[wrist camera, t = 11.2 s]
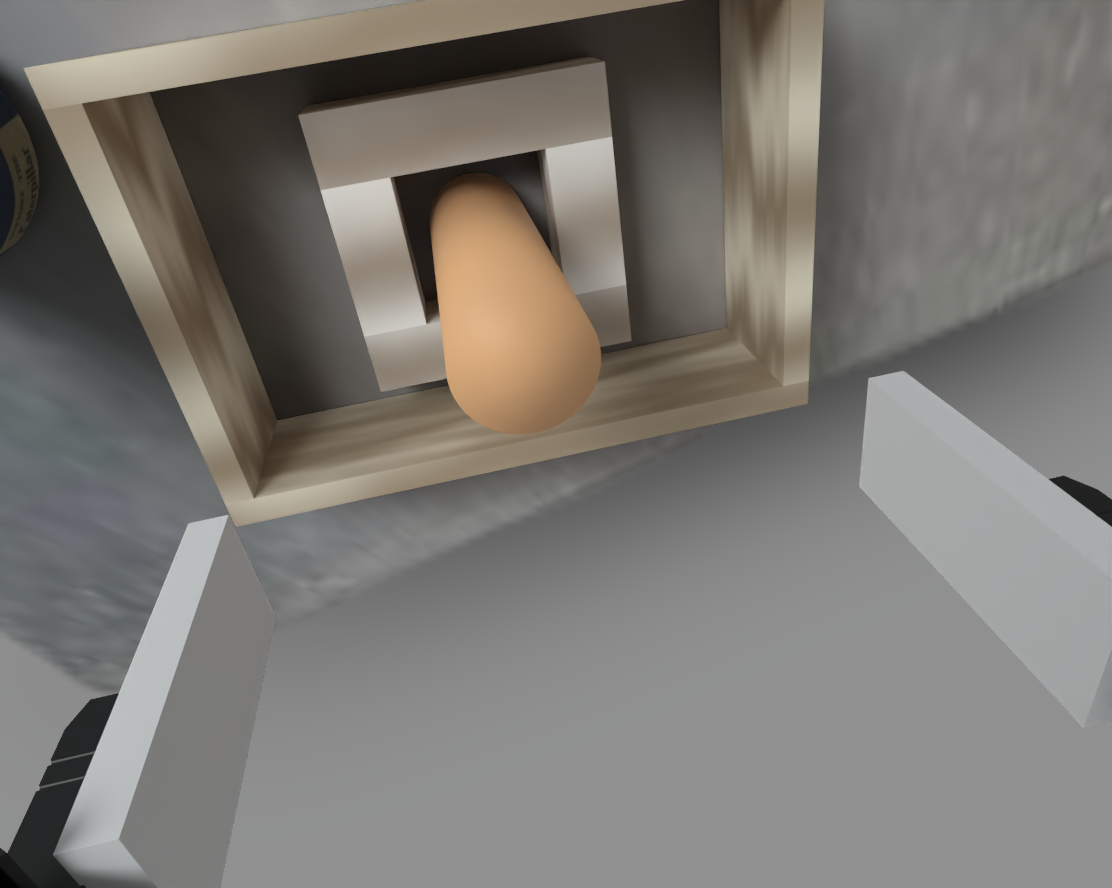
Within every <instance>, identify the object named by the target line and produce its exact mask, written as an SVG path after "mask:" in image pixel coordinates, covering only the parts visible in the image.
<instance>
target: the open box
mask: <svg viewBox="0 0 1112 888" xmlns="http://www.w3.org/2000/svg"><path fill="white" fill-rule="evenodd" d="M677 1H683V0H421V1H415V2H409V3H403V4H397V5H391V6H385V7H379V8H373V9H367V10H361V11H355V12H349V13H343V14H337V15H331V16H325V17H319V18H313V19H307V20H301V21H295V22H289V23H283V24H277V25H271V26H265V27H259V28H253V29H247V30H241V31H235V32H229V33H223V34H217V35H211V36H205V37H199V38H193V39H187V40H181V41H175V42H169V43H163V44H157V45H151V46H145V47H139V48H133V49H127V50H121V51H115V52H109V53H103V54H98V55H92V56H87V57H81V58H76V59H71V60H65V61H60V62H54V63H49V64H43V65H38V66H33V67H27V68H23V69H24V71H25V73H26V75H27V77H28V79H29V82H30V84H31V86H32V88H33V90H34V92H35V95H36V97H37V99H38V101H39V103H40V105H41V108H42V110H43V112H44V114H45V116H46V118H47V120H48V123H49V125H50V127H51V129H52V131H53V133H54V136H55V138H56V140H57V142H58V144H59V146H60V149H61V151H62V153H63V155H64V157H65V159H66V161H67V164H68V166H69V168H70V170H71V172H72V174H73V177H74V179H75V181H76V183H77V185H78V187H79V190H80V192H81V194H82V196H83V198H84V200H85V202H86V205H87V207H88V209H89V211H90V213H91V215H92V218H93V220H94V222H95V224H96V226H97V228H98V231H99V233H100V235H101V237H102V239H103V241H104V243H105V246H106V248H107V250H108V252H109V254H110V256H111V259H112V261H113V263H114V265H115V267H116V269H117V272H118V274H119V276H120V278H121V280H122V282H123V284H124V287H125V289H126V291H127V293H128V295H129V297H130V300H131V302H132V304H133V306H134V308H135V310H136V313H137V315H138V317H139V319H140V321H141V323H142V325H143V328H144V330H145V332H146V334H147V336H148V338H149V341H150V343H151V345H152V347H153V349H154V351H155V354H156V356H157V358H158V360H159V362H160V364H161V366H162V369H163V371H164V373H165V375H166V377H167V379H168V382H169V384H170V386H171V388H172V390H173V392H174V395H175V397H176V399H177V401H178V403H179V405H180V407H181V410H182V412H183V414H184V416H185V418H186V420H187V423H188V425H189V427H190V429H191V431H192V433H193V436H194V438H195V440H196V442H197V444H198V446H199V448H200V451H201V453H202V455H203V457H204V459H205V461H206V464H207V466H208V468H209V470H210V472H211V474H212V477H213V479H214V481H215V483H216V485H217V487H218V489H219V492H220V494H221V496H222V498H223V500H224V502H225V505H226V507H227V509H228V511H229V513H230V515H231V518H232V520H233V522H234V524H235V526H236V527H237V526H242V525H247V524H251V523H256V522H260V521H265V520H270V519H274V518H279V517H284V516H288V515H293V514H298V513H302V512H307V511H312V510H316V509H321V508H326V507H330V506H335V505H340V504H344V503H349V502H354V501H358V500H363V499H368V498H372V497H377V496H382V495H386V494H391V493H396V492H400V491H405V490H410V489H414V488H419V487H424V486H428V485H433V484H438V483H442V482H447V481H452V480H456V479H461V478H465V477H470V476H475V475H479V474H484V473H489V472H493V471H498V470H503V469H507V468H512V467H517V466H521V465H526V464H531V463H535V462H540V461H545V460H549V459H554V458H559V457H563V456H568V455H573V454H577V453H582V452H587V451H591V450H596V449H601V448H605V447H610V446H615V445H619V444H624V443H629V442H633V441H638V440H643V439H647V438H652V437H657V436H661V435H666V434H670V433H675V432H680V431H684V430H689V429H694V428H698V427H703V426H708V425H712V424H717V423H722V422H726V421H731V420H736V419H740V418H745V417H750V416H754V415H759V414H764V413H768V412H773V411H778V410H782V409H787V408H792V407H796V406H801V405H805V404H808V389H809V364H810V340H811V315H812V291H813V266H814V242H815V217H816V193H817V168H818V144H819V119H820V95H821V70H822V46H823V21H824V0H719V13H720V57H721V101H722V144H723V188H724V232H725V276H726V320H727V328H725V329H720V330H715V331H711V332H706V333H701V334H696V335H691V336H686V337H681V338H676V339H672V340H667V341H662V342H657V343H652V344H647V345H642V346H638V347H633V348H628V349H623V350H618V351H613V352H608V353H603V354H601V368H600V373H599V377H598V380H597V383H596V386H595V388H594V390H593V392H592V393H591V395H590V397H589V398H588V400H587V401H586V402H585V404H584V405H583V406H582V407H581V408H580V409H579V410H578V411H577V412H576V413H575V414H574V415H572V416H571V417H570V418H568V419H567V420H565V421H564V422H562V423H560V424H558V425H557V426H555V427H552V428H550V429H547V430H544V431H540V432H536V433H529V434H509V433H503V432H498V431H495V430H492V429H489V428H487V427H485V426H483V425H481V424H479V423H478V422H476V421H475V420H473V419H472V418H471V417H470V416H468V415H467V414H466V413H465V412H464V411H463V410H462V409H461V407H460V406H459V405H458V403H457V402H456V400H455V399H454V397H453V395H452V393H451V391H450V387H449V385H447V386H443V387H438V388H433V389H428V390H423V391H418V392H413V393H408V394H404V395H399V396H394V397H389V398H384V399H379V400H374V401H370V402H365V403H360V404H355V405H350V406H345V407H340V408H335V409H331V410H326V411H321V412H316V413H311V414H306V415H301V416H296V417H292V418H287V419H282V420H277V418H276V415H275V413H274V410H273V408H272V405H271V403H270V400H269V397H268V395H267V392H266V390H265V387H264V385H263V382H262V379H261V377H260V374H259V372H258V369H257V367H256V364H255V361H254V359H253V356H252V354H251V351H250V349H249V346H248V343H247V341H246V338H245V336H244V333H243V331H242V328H241V325H240V323H239V320H238V318H237V315H236V313H235V310H234V308H233V305H232V302H231V300H230V297H229V295H228V292H227V290H226V287H225V284H224V282H223V279H222V277H221V274H220V272H219V269H218V266H217V264H216V261H215V259H214V256H213V254H212V251H211V248H210V246H209V243H208V241H207V238H206V236H205V233H204V230H203V228H202V225H201V223H200V220H199V218H198V215H197V213H196V210H195V207H194V205H193V202H192V200H191V197H190V195H189V192H188V189H187V187H186V184H185V182H184V179H183V177H182V174H181V171H180V169H179V166H178V164H177V161H176V159H175V156H174V153H173V151H172V148H171V146H170V143H169V141H168V138H167V135H166V133H165V130H164V128H163V125H162V123H161V120H160V118H159V115H158V112H157V110H156V107H155V105H154V102H153V100H152V97H151V94H150V92H151V91H157V90H163V89H169V88H175V87H181V86H186V85H192V84H198V83H204V82H210V81H216V80H221V79H227V78H233V77H239V76H245V75H251V74H256V73H262V72H268V71H274V70H280V69H286V68H291V67H297V66H303V65H309V64H315V63H321V62H327V61H332V60H338V59H344V58H350V57H356V56H362V55H367V54H373V53H379V52H385V51H391V50H397V49H402V48H408V47H414V46H420V45H426V44H432V43H437V42H443V41H449V40H455V39H461V38H467V37H472V36H478V35H484V34H490V33H496V32H502V31H507V30H513V29H519V28H525V27H531V26H537V25H542V24H548V23H554V22H560V21H566V20H572V19H577V18H583V17H589V16H595V15H601V14H607V13H613V12H618V11H624V10H630V9H636V8H642V7H648V6H653V5H659V4H665V3H671V2H677ZM298 117H299V120H300V123H301V127H302V130H303V133H304V137H305V140H306V143H307V147H308V150H309V153H310V157H311V160H312V163H313V167H314V170H315V173H316V177H317V180H318V184H319V187H320V190H321V194H322V197H323V200H324V204H325V207H326V210H327V214H328V217H329V220H330V224H331V227H332V230H333V234H334V237H335V240H336V244H337V247H338V250H339V254H340V257H341V261H342V264H343V267H344V271H345V274H346V277H347V281H348V284H349V287H350V291H351V294H352V297H353V301H354V304H355V307H356V311H357V314H358V317H359V321H360V324H361V327H362V331H363V334H364V338H365V341H366V344H367V348H368V351H369V354H370V358H371V361H372V364H373V368H374V371H375V374H376V378H377V381H378V384H379V388H380V391H381V392H384V391H389V390H394V389H398V388H403V387H408V386H413V385H418V384H423V383H428V382H433V381H438V380H442V379H447V375H446V367H445V358H444V349H443V340H442V331H441V322H440V313H439V304H438V299H435V300H430V301H425V299H424V295H423V291H422V287H421V283H420V279H419V275H418V271H417V267H416V263H415V258H414V254H413V250H412V246H411V242H410V238H409V234H408V230H407V226H406V222H405V218H404V214H403V210H402V206H401V202H400V197H399V193H398V189H397V185H396V181H395V176H401V175H406V174H412V173H417V172H422V171H428V170H433V169H439V168H444V167H450V166H455V165H461V164H466V163H471V162H477V161H482V160H488V159H493V158H499V157H504V156H510V155H515V154H520V153H526V152H531V151H537V156H538V163H539V169H540V176H541V183H542V190H543V197H544V204H545V210H546V217H547V224H548V231H549V238H550V244H551V251H552V256H553V258H554V259H555V261H556V263H557V265H558V266H559V268H560V270H561V272H562V273H563V275H564V277H565V279H566V280H567V282H568V284H569V285H570V287H571V289H572V291H573V292H574V294H575V296H576V298H577V299H578V301H579V303H580V305H581V306H582V308H583V310H584V312H585V313H586V315H587V317H588V319H589V320H590V322H591V324H592V326H593V328H594V330H595V332H596V334H597V337H598V340H599V343H600V347H604V346H609V345H614V344H619V343H623V342H628V341H632V339H631V329H630V318H629V308H628V297H627V287H626V276H625V266H624V255H623V245H622V235H621V224H620V214H619V203H618V193H617V182H616V172H615V161H614V151H613V140H612V130H611V119H610V109H609V99H608V88H607V78H606V67H605V61H603V60H599V59H596V58H593V57H590V56H587V57H582V58H576V59H570V60H565V61H559V62H553V63H547V64H542V65H536V66H530V67H525V68H519V69H513V70H508V71H502V72H496V73H490V74H485V75H479V76H473V77H468V78H462V79H456V80H451V81H445V82H439V83H433V84H428V85H422V86H416V87H411V88H405V89H399V90H393V91H388V92H382V93H376V94H371V95H365V96H359V97H354V98H348V99H342V100H336V101H331V102H325V103H319V104H314V105H308V106H306V107H305V108H304V109H303V110H302V112H301V113H300V114H299V115H298Z"/></svg>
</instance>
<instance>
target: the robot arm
mask: <svg viewBox="0 0 1112 888" xmlns="http://www.w3.org/2000/svg"><path fill="white" fill-rule="evenodd" d="M866 403H867V404H866V415H865V425H864V437H863V448H862V459H861V470H860V481H859V487H860V488H861V489H862V490H863V491H864V492H865V493H866V494H867V495H868V497H869V498H870V499H871V500H872V501H873V502H874V503H875V504H876V505H877V506H878V507H879V508H880V509H881V511H882V512H883V513H884V514H885V515H886V516H887V517H888V518H889V519H890V520H891V521H892V522H893V523H894V524H895V526H896V527H897V528H898V529H899V530H900V531H901V532H902V533H903V534H904V535H905V536H906V537H907V539H908V540H909V541H910V542H911V543H912V544H913V545H914V546H915V547H916V548H917V549H918V550H919V551H920V553H921V554H922V555H923V556H924V557H925V558H926V559H927V560H928V561H929V562H930V563H931V564H932V565H933V567H935V569H936V570H937V571H938V572H939V573H940V574H941V575H942V576H943V577H944V578H945V579H946V581H948V583H949V584H950V585H951V586H952V587H953V588H954V589H955V590H956V591H957V592H958V593H959V595H961V596H962V598H963V599H964V600H965V601H966V602H967V603H968V604H969V605H970V606H971V607H972V609H973V610H974V611H975V612H976V613H977V614H978V615H979V616H980V617H981V618H982V619H983V620H984V621H985V623H986V624H987V625H988V626H989V627H990V628H991V629H992V630H993V631H994V632H995V633H996V634H997V635H998V637H999V638H1000V639H1001V640H1003V642H1004V643H1005V644H1006V645H1007V646H1008V647H1009V648H1010V649H1011V650H1012V652H1013V653H1014V654H1015V655H1016V656H1017V657H1018V658H1019V659H1020V660H1021V661H1022V662H1023V663H1024V664H1025V665H1026V667H1027V668H1028V669H1029V670H1030V671H1031V672H1032V673H1033V674H1034V675H1035V676H1036V677H1037V678H1038V680H1039V681H1040V682H1041V683H1042V684H1043V685H1044V686H1045V687H1046V688H1047V689H1048V690H1049V691H1050V692H1051V694H1052V695H1054V697H1055V698H1056V699H1057V700H1058V701H1059V702H1060V703H1061V704H1062V705H1063V706H1064V707H1065V708H1066V710H1068V712H1069V713H1070V714H1071V715H1072V716H1073V717H1074V718H1075V719H1076V720H1077V722H1078V723H1079V724H1080V725H1081V726H1082V727H1083V728H1086V727H1089V726H1094V725H1097V724H1101V723H1105V722H1109V721H1112V499H1110V498H1109V497H1107V496H1106V495H1104V494H1103V493H1102V492H1100V491H1099V490H1097V489H1095V488H1093V487H1090V486H1088V485H1085V484H1083V483H1080V482H1078V481H1075V480H1073V479H1070V478H1068V477H1066V476H1061V477H1056V478H1052V479H1047V478H1046V477H1045V476H1043V475H1042V474H1040V473H1039V472H1038V471H1036V470H1035V469H1034V468H1033V467H1031V466H1030V465H1028V464H1027V463H1026V462H1025V461H1023V460H1022V459H1020V458H1019V457H1018V456H1016V455H1015V454H1014V453H1012V452H1011V451H1010V450H1008V449H1007V448H1006V447H1004V446H1003V445H1002V444H1000V443H999V442H998V441H996V440H995V439H994V438H992V437H991V436H990V435H988V434H987V433H986V432H984V431H983V430H982V429H980V428H979V427H978V426H976V425H975V424H974V423H972V422H971V421H970V420H968V419H967V418H966V417H964V416H963V415H962V414H960V413H959V412H958V411H956V410H955V409H954V408H952V407H951V406H950V405H948V404H947V403H946V402H944V401H943V400H942V399H940V398H939V397H938V396H936V395H935V394H934V393H932V392H931V391H930V390H928V389H927V388H926V387H924V386H923V385H922V384H920V383H919V382H918V381H916V380H915V379H914V378H912V377H911V376H910V375H908V374H907V373H906V372H904V371H900V372H896V373H891V374H886V375H882V376H877V377H872V378H869V380H868V392H867V402H866ZM275 620H276V616H275V614H274V612H273V609H272V607H271V605H270V603H269V601H268V599H267V597H266V594H265V592H264V590H263V588H262V586H261V584H260V582H259V579H258V577H257V575H256V573H255V571H254V569H253V567H252V564H251V562H250V560H249V558H248V556H247V554H246V552H245V549H244V547H243V545H242V543H241V541H240V539H239V537H238V534H237V532H236V530H235V528H234V526H233V524H232V522H231V519H230V517H229V515H226V516H221V517H217V518H212V519H207V520H203V521H198V522H193V523H189V524H188V526H187V528H186V531H185V533H184V536H183V538H182V541H181V543H180V546H179V548H178V550H177V553H176V555H175V558H174V560H173V563H172V565H171V568H170V570H169V572H168V575H167V577H166V580H165V582H164V585H163V587H162V590H161V592H160V594H159V597H158V599H157V602H156V604H155V607H154V609H153V612H152V614H151V616H150V619H149V621H148V624H147V626H146V629H145V631H144V634H143V636H142V638H141V641H140V643H139V646H138V648H137V651H136V653H135V656H134V658H133V660H132V663H131V665H130V668H129V670H128V673H127V675H126V678H125V680H124V682H123V685H122V687H121V690H120V692H119V693H118V694H113V695H109V696H104V697H100V698H96V699H91V700H90V701H89V702H88V703H87V704H86V705H85V707H84V708H83V709H82V710H81V711H80V712H79V714H78V715H77V716H76V717H75V718H74V719H73V721H72V722H71V723H70V724H69V725H68V726H67V727H66V729H65V730H64V732H63V735H62V737H61V739H60V741H59V743H58V745H57V748H56V750H55V752H54V754H53V756H52V758H51V763H52V764H51V765H50V766H48V767H47V769H46V771H45V773H44V776H43V778H42V780H41V782H40V784H39V786H40V790H39V791H37V792H36V793H35V795H34V797H33V799H32V802H31V804H30V806H29V808H28V810H27V812H26V815H25V817H24V819H23V821H22V823H21V825H20V827H19V830H18V832H17V834H16V836H15V838H14V841H13V843H12V845H11V847H10V849H9V851H8V853H6V852H5V851H4V850H2V849H1V848H0V888H220V887H221V882H222V877H223V872H224V868H225V863H226V858H227V853H228V848H229V843H230V838H231V834H232V828H233V824H234V819H235V814H236V809H237V804H238V799H239V795H240V790H241V785H242V779H243V775H244V770H245V765H246V761H247V756H248V751H249V746H250V741H251V736H252V731H253V726H254V722H255V717H256V712H257V707H258V702H259V698H260V693H261V688H262V683H263V678H264V673H265V668H266V664H267V658H268V654H269V649H270V644H271V639H272V635H273V630H274V625H275Z"/></svg>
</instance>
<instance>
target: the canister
mask: <svg viewBox="0 0 1112 888" xmlns="http://www.w3.org/2000/svg"><path fill="white" fill-rule="evenodd" d="M38 193H39V166H38V161H37V157H36V154H35V151H34V147H33V144H32V141H31V139H30V136H29V134H28V131H27V129H26V127H25V125H24V124H23V122H22V120H21V118H20V116H19V114H18V113H17V111H16V110H15V109H14V107H13V106H12V104H11V103H10V101H9V100H8V98H7V97H6V95H5V94H4V93H3V92H2V91H1V89H0V256H1V255H3V254H4V253H5V252H7V251H8V250H9V249H10V248H11V247H12V246H13V245H15V244H16V243H17V241H18V240H19V239H20V238H21V237H22V235H23V234H24V232H25V230H26V229H27V227H28V225H29V223H30V221H31V218H32V216H33V214H34V211H35V208H36V205H37V201H38Z"/></svg>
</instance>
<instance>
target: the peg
mask: <svg viewBox="0 0 1112 888" xmlns="http://www.w3.org/2000/svg"><path fill="white" fill-rule="evenodd" d="M430 232H431V241H432V250H433V259H434V268H435V277H436V286H437V295H438V304H439V313H440V322H441V331H442V340H443V349H444V358H445V367H446V375H447V381H448V384H449V387H450V391H451V393H452V395H453V397H454V399H455V400H456V402H457V403H458V405H459V406H460V407H461V409H462V410H463V411H464V412H465V413H466V414H467V415H468V416H470V417H471V418H472V419H473V420H475V421H476V422H478V423H479V424H481V425H483V426H485V427H487V428H489V429H492V430H495V431H498V432H503V433H509V434H529V433H536V432H540V431H544V430H547V429H550V428H552V427H555V426H557V425H558V424H560V423H562V422H564V421H565V420H567V419H568V418H570V417H571V416H572V415H574V414H575V413H576V412H577V411H578V410H579V409H580V408H581V407H582V406H583V405H584V404H585V402H586V401H587V400H588V398H589V397H590V395H591V393H592V392H593V390H594V388H595V386H596V383H597V380H598V377H599V373H600V368H601V349H600V343H599V340H598V337H597V334H596V332H595V330H594V328H593V326H592V324H591V322H590V320H589V319H588V317H587V315H586V313H585V312H584V310H583V308H582V306H581V305H580V303H579V301H578V299H577V298H576V296H575V294H574V292H573V291H572V289H571V287H570V285H569V284H568V282H567V280H566V279H565V277H564V275H563V273H562V272H561V270H560V268H559V266H558V265H557V263H556V261H555V259H554V258H553V256H552V254H551V252H550V251H549V249H548V247H547V245H546V244H545V242H544V240H543V238H542V237H541V235H540V233H539V231H538V230H537V228H536V226H535V224H534V223H533V221H532V219H531V218H530V216H529V214H528V212H527V211H526V209H525V207H524V205H523V204H522V202H521V200H520V198H519V197H518V195H517V194H516V192H515V191H514V190H513V189H512V187H511V186H510V185H508V184H507V183H506V182H505V181H503V180H502V179H500V178H498V177H496V176H493V175H490V174H486V173H476V172H475V173H467V174H463V175H460V176H458V177H456V178H454V179H452V180H451V181H449V182H448V183H447V184H445V185H444V186H443V187H442V188H441V190H440V191H439V192H438V194H437V195H436V197H435V199H434V201H433V204H432V207H431V211H430Z"/></svg>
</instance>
